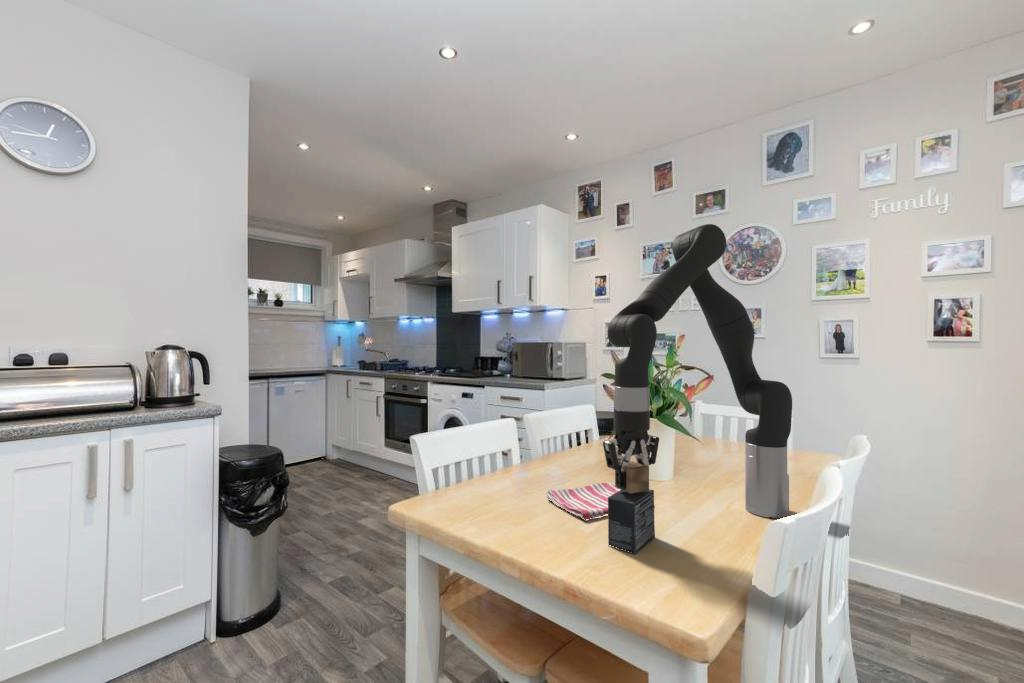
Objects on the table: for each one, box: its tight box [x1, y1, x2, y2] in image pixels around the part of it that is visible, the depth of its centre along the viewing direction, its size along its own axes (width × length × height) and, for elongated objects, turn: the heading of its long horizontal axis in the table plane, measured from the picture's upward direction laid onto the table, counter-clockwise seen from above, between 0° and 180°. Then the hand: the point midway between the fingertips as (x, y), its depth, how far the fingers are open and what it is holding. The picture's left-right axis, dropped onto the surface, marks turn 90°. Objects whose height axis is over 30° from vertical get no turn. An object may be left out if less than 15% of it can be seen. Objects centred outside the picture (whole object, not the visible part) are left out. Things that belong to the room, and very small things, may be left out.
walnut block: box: [614, 460, 650, 494], centre depth 95 cm, size 5×5×5 cm
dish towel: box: [546, 481, 621, 521], centre depth 118 cm, size 17×23×4 cm
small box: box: [607, 488, 656, 554], centre depth 95 cm, size 11×6×10 cm, turn 141°
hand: (631, 486), depth 95 cm, fingers closed on walnut block, 5 cm apart
